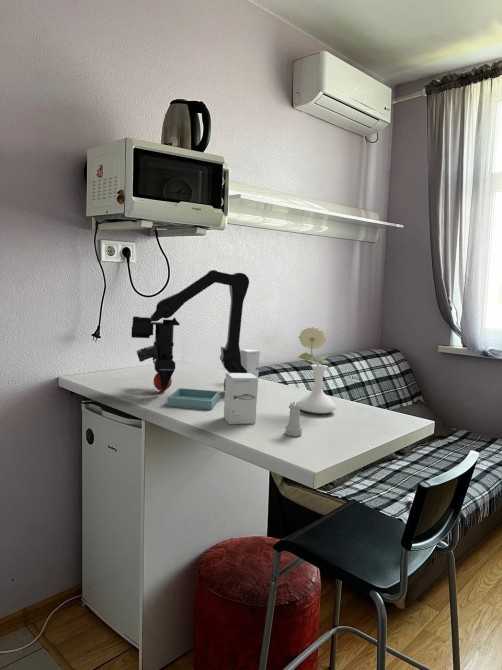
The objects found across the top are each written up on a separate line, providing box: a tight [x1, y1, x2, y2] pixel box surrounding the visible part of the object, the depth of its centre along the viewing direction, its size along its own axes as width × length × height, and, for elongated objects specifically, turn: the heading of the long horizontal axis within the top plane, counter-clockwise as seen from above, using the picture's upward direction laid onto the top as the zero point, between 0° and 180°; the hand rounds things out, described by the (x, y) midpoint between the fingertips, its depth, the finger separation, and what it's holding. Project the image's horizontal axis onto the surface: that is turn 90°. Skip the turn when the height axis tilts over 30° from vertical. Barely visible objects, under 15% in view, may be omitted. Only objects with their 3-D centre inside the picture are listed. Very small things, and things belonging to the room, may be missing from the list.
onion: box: [153, 372, 173, 393], centre depth 170 cm, size 6×6×8 cm
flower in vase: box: [298, 326, 337, 414], centre depth 156 cm, size 13×11×25 cm
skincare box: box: [240, 349, 261, 379], centre depth 192 cm, size 6×4×12 cm
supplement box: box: [223, 372, 259, 425], centre depth 142 cm, size 7×7×13 cm
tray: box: [166, 387, 221, 411], centre depth 159 cm, size 13×13×3 cm
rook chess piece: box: [284, 401, 303, 438], centre depth 133 cm, size 4×4×8 cm
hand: (162, 386), depth 170 cm, fingers open, 9 cm apart
